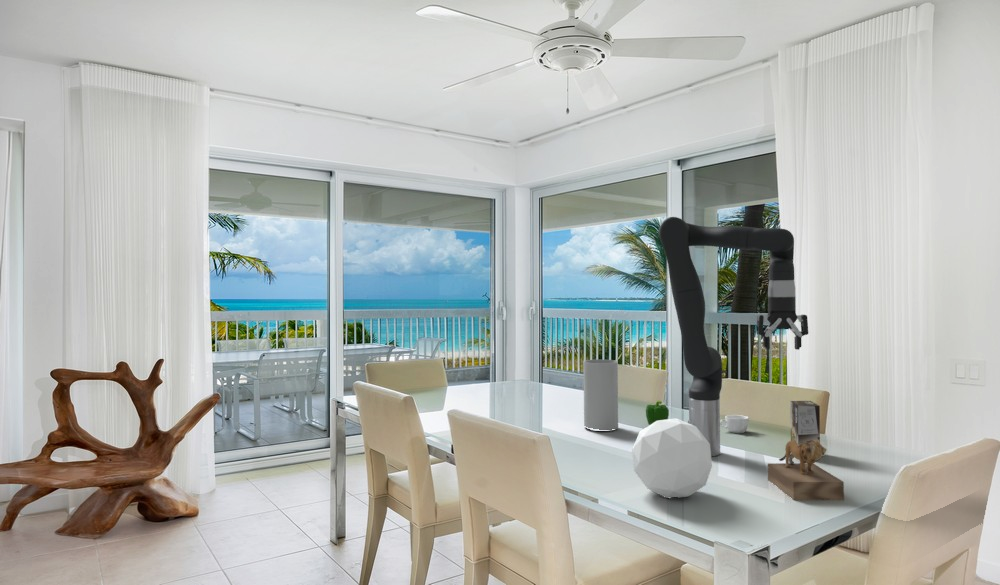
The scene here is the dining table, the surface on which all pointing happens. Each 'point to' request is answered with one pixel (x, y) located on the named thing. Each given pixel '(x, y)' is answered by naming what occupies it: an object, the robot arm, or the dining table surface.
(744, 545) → the dining table surface
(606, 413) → the cylinder vase
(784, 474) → the walnut block
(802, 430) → the coffee box
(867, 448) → the dining table surface
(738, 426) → the teacup
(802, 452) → the lion figurine
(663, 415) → the bell pepper
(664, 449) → the ball
